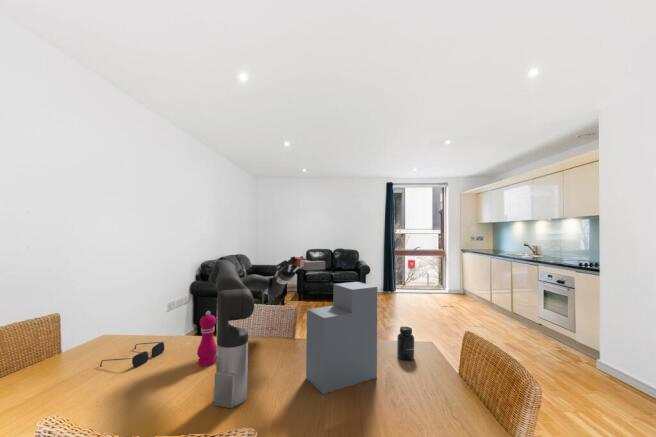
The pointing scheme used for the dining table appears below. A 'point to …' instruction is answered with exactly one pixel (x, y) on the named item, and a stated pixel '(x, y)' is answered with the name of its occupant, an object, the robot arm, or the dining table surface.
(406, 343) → the supplement bottle
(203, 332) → the pepper mill
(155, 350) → the sunglasses
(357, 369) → the stand
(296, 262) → the grey red bar
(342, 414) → the dining table surface
